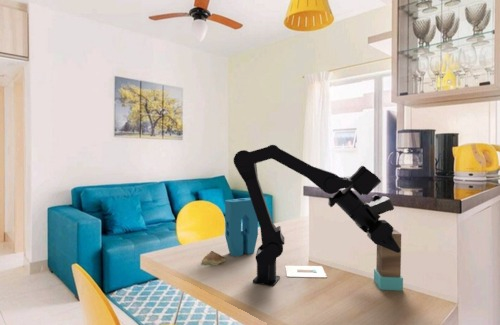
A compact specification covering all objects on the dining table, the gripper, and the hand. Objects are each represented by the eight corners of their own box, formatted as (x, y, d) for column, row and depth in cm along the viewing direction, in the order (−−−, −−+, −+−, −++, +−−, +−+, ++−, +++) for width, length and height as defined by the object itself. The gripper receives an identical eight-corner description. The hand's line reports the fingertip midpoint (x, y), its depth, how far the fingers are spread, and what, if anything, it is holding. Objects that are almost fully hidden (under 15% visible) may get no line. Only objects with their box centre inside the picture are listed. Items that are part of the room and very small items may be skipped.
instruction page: (327, 277, 96) (327, 276, 96) (287, 277, 97) (287, 276, 97) (321, 266, 105) (321, 265, 105) (285, 266, 106) (285, 265, 106)
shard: (211, 254, 119) (211, 249, 119) (231, 256, 117) (231, 251, 117) (200, 264, 108) (200, 259, 108) (222, 266, 107) (222, 261, 107)
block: (251, 248, 125) (251, 197, 124) (258, 251, 120) (258, 199, 120) (224, 253, 118) (224, 200, 117) (231, 257, 114) (230, 202, 113)
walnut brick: (400, 277, 88) (401, 234, 87) (381, 276, 88) (382, 233, 88) (394, 270, 93) (394, 229, 92) (376, 269, 93) (377, 229, 93)
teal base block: (402, 290, 87) (403, 278, 87) (380, 289, 88) (380, 277, 88) (395, 281, 93) (395, 269, 93) (373, 280, 94) (374, 268, 94)
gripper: (385, 191, 81) (430, 236, 80) (366, 183, 99) (402, 219, 98) (353, 221, 82) (397, 265, 81) (340, 208, 100) (375, 244, 100)
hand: (393, 246), depth 90 cm, fingers open, 9 cm apart
